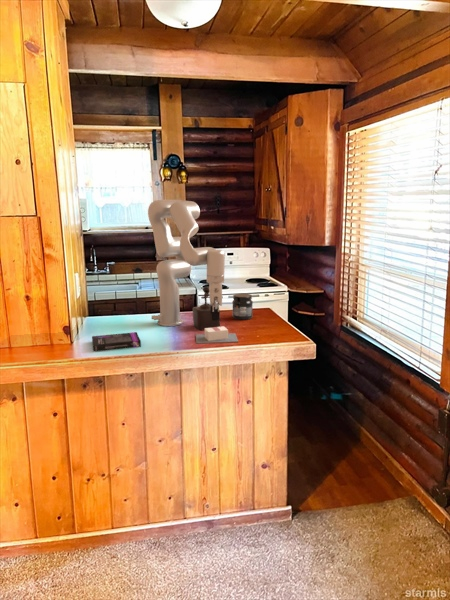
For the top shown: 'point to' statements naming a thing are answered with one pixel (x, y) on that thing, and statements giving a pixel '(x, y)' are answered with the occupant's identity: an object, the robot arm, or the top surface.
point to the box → (115, 341)
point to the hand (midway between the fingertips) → (214, 316)
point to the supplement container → (242, 306)
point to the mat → (201, 339)
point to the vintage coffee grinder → (204, 314)
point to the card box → (216, 333)
